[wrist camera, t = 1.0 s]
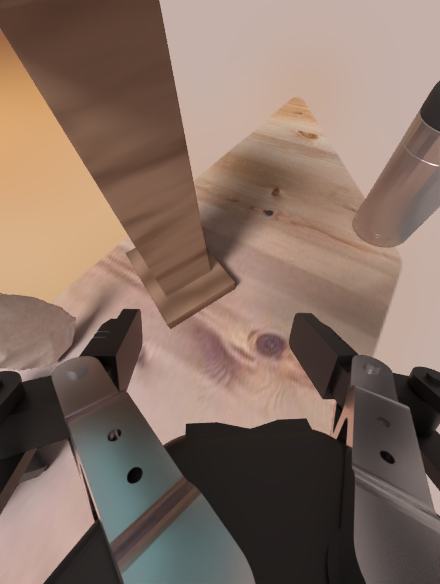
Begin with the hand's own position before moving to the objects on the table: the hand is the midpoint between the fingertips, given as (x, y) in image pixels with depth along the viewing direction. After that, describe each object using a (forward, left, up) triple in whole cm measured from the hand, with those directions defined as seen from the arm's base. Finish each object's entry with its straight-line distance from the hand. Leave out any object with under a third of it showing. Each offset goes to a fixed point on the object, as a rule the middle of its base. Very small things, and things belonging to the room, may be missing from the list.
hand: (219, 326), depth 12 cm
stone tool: (+11, -23, -21) cm, 33 cm away
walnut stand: (-9, -17, -21) cm, 28 cm away
